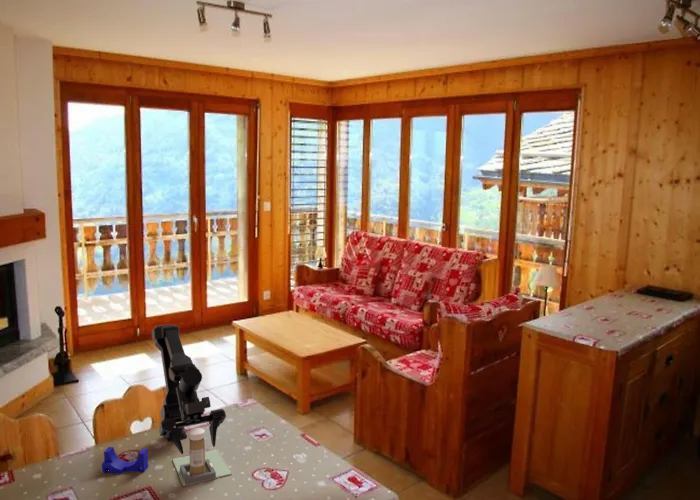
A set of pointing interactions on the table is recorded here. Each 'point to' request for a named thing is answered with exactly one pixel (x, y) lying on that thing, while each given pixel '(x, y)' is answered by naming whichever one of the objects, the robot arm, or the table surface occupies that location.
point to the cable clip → (123, 462)
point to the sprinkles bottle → (197, 451)
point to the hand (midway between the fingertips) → (198, 450)
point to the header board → (213, 468)
